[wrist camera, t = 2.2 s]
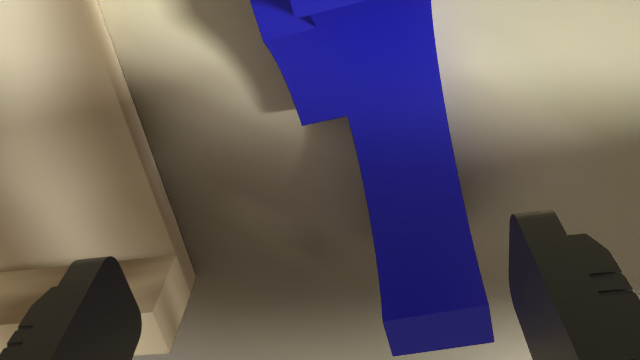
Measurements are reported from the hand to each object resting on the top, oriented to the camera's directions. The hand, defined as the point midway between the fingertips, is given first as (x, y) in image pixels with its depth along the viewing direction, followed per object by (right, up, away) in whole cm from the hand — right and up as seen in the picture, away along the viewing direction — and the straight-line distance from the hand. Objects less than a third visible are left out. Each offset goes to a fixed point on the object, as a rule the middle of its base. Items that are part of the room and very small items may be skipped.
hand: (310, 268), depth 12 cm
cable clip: (+2, +5, +8) cm, 9 cm away
